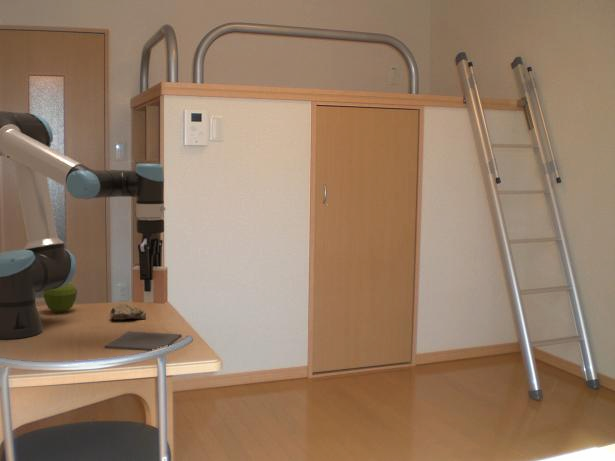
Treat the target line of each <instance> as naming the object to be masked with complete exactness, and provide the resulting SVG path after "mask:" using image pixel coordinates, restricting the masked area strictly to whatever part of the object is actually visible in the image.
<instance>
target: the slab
mask: <svg viewBox="0 0 615 461" xmlns="http://www.w3.org/2000/svg"><path fill="white" fill-rule="evenodd" d="M152 280H154V303H153V304H157V305H159V304H163V305H164V304H166V303H168V301H169V300H168V297H169V295H168V289H169V288H168V266H161V267H156V266H153V273H152ZM132 292H133V293H132V294H133V295H132V298H133V299H132V302H133V303H139V304H145V303H144V282H143V280H140V265H136V266H133V267H132Z"/></svg>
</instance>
